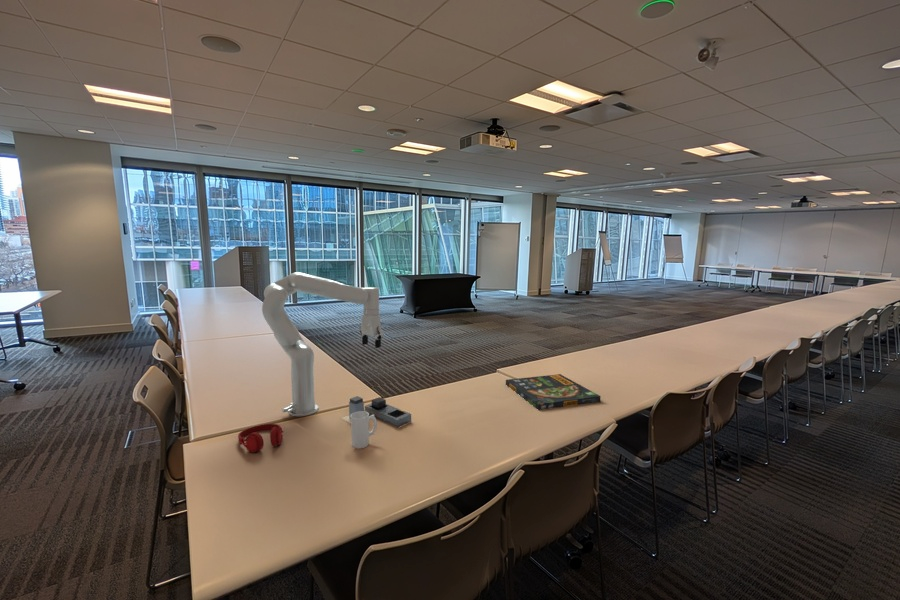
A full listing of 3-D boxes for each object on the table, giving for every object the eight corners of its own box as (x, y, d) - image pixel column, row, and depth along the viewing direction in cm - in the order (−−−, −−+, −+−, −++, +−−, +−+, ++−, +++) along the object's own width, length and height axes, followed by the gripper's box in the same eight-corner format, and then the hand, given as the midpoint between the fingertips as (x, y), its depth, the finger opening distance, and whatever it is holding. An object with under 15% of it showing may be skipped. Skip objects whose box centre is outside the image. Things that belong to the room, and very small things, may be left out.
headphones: (289, 444, 144) (275, 432, 159) (287, 426, 143) (273, 415, 159) (246, 458, 134) (235, 443, 150) (244, 438, 134) (233, 425, 150)
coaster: (354, 426, 160) (354, 425, 160) (340, 419, 166) (340, 418, 166) (372, 418, 167) (372, 417, 167) (359, 412, 174) (359, 411, 174)
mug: (353, 450, 140) (353, 420, 139) (349, 442, 146) (348, 413, 145) (379, 444, 145) (379, 414, 144) (374, 436, 151) (374, 408, 150)
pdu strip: (397, 428, 159) (397, 413, 158) (364, 413, 173) (364, 399, 172) (411, 421, 165) (411, 407, 164) (378, 407, 179) (378, 394, 178)
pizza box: (505, 385, 211) (505, 379, 211) (559, 380, 222) (560, 374, 221) (538, 411, 178) (538, 404, 178) (600, 402, 188) (600, 396, 188)
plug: (355, 421, 164) (355, 401, 162) (349, 418, 167) (348, 398, 165) (364, 417, 167) (363, 398, 166) (357, 414, 170) (357, 395, 169)
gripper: (354, 311, 189) (354, 344, 191) (377, 315, 179) (377, 350, 181) (365, 309, 195) (366, 341, 197) (388, 313, 185) (388, 347, 187)
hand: (371, 345), depth 189 cm, fingers open, 9 cm apart
